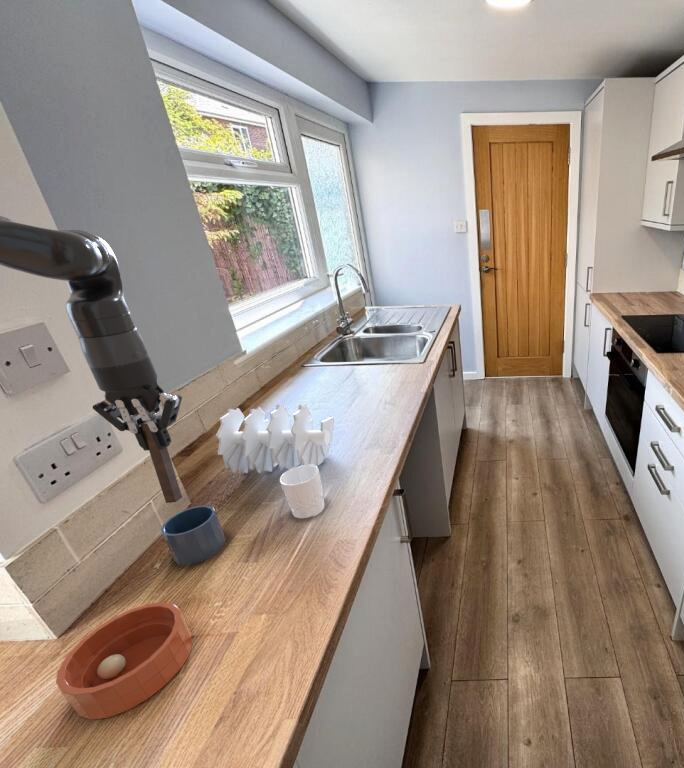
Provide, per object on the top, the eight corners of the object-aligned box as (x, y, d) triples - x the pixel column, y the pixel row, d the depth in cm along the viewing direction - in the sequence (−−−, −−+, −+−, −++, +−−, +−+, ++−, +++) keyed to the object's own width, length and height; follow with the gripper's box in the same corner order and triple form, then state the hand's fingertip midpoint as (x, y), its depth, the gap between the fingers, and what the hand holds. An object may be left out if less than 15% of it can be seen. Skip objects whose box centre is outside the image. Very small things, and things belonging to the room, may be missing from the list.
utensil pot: (165, 569, 79) (149, 537, 76) (192, 536, 87) (180, 507, 84) (211, 565, 80) (198, 533, 77) (234, 533, 88) (223, 503, 85)
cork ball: (98, 666, 60) (101, 652, 60) (126, 661, 62) (128, 647, 61) (93, 686, 58) (96, 672, 57) (122, 680, 60) (124, 666, 59)
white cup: (327, 516, 92) (317, 479, 88) (288, 525, 89) (277, 488, 85) (327, 495, 99) (319, 461, 95) (292, 504, 96) (281, 469, 92)
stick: (165, 503, 76) (140, 424, 71) (172, 497, 78) (148, 420, 73) (175, 502, 76) (151, 423, 72) (182, 497, 78) (158, 419, 73)
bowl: (47, 728, 54) (25, 700, 52) (125, 632, 67) (110, 607, 65) (154, 714, 56) (137, 687, 53) (212, 623, 68) (200, 598, 66)
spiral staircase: (328, 484, 110) (231, 486, 108) (342, 430, 121) (255, 432, 119) (306, 447, 96) (195, 449, 94) (325, 391, 108) (226, 392, 106)
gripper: (178, 349, 71) (209, 434, 78) (93, 353, 70) (133, 440, 77) (147, 363, 64) (184, 456, 71) (53, 368, 63) (100, 462, 70)
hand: (157, 447), depth 74 cm, fingers closed on stick, 2 cm apart
